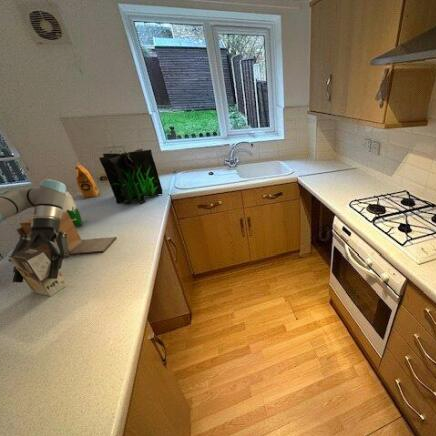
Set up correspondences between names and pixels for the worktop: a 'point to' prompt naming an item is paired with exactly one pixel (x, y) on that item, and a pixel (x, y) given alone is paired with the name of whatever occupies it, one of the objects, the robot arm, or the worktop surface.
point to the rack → (71, 238)
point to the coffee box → (37, 270)
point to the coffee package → (85, 182)
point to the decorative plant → (132, 175)
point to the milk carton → (72, 210)
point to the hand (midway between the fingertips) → (35, 280)
